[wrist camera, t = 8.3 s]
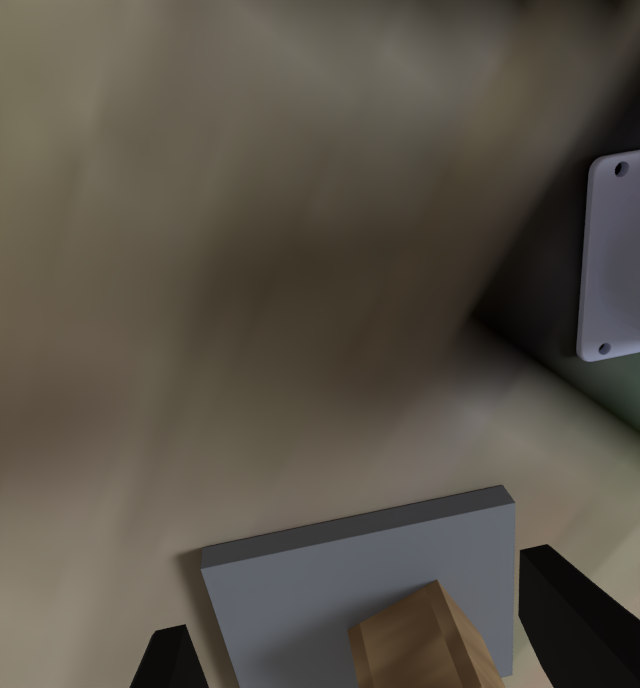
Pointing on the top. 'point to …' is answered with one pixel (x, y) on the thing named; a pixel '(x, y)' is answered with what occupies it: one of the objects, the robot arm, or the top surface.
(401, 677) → the wooden cubby box
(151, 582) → the top surface
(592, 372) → the top surface
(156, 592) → the top surface
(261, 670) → the flat gray board
